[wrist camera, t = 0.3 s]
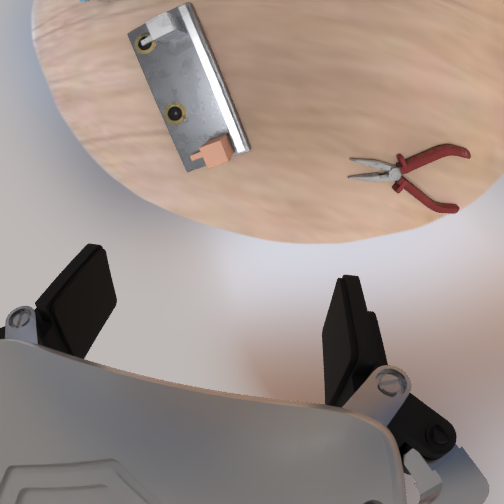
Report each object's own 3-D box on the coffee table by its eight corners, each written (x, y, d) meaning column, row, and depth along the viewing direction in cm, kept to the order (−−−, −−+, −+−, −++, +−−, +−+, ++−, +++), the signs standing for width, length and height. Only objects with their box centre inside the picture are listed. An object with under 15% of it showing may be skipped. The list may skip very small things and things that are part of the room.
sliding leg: (188, 147, 43) (178, 156, 39) (226, 133, 41) (220, 140, 38) (196, 165, 44) (187, 176, 41) (234, 152, 43) (228, 161, 39)
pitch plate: (132, 34, 35) (110, 32, 30) (191, 3, 32) (176, -5, 27) (190, 169, 47) (176, 183, 41) (250, 148, 44) (244, 160, 39)
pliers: (349, 128, 41) (353, 132, 39) (467, 146, 38) (474, 151, 36) (343, 200, 47) (346, 207, 45) (453, 210, 45) (459, 217, 43)
